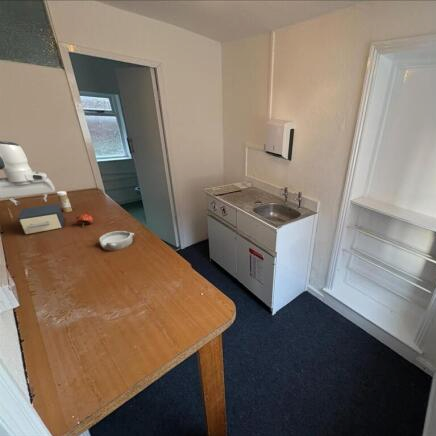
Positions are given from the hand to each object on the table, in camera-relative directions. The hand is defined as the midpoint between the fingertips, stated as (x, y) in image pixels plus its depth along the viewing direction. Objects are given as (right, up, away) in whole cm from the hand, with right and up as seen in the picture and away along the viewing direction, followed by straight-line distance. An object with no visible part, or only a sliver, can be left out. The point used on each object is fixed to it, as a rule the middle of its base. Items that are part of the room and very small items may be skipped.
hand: (32, 203), depth 118 cm
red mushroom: (+12, -9, +16) cm, 22 cm away
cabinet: (-8, -12, +15) cm, 21 cm away
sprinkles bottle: (-16, -3, +35) cm, 39 cm away
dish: (+44, -21, 0) cm, 49 cm away
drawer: (-5, -13, +11) cm, 18 cm away
